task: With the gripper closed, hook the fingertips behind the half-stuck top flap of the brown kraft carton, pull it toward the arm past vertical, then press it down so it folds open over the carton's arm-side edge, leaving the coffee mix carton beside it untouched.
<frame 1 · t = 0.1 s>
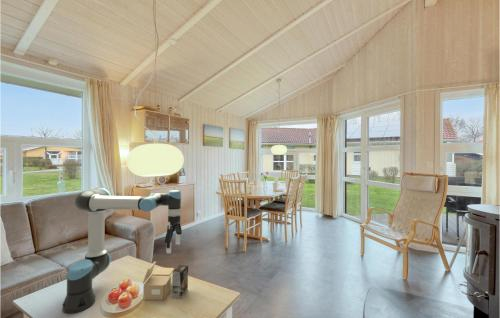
hand: (173, 248, 143), 28 cm above the table, fingers open, 13 cm apart
coffee box: (180, 294, 142), on the table
carton: (157, 294, 141), on the table
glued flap: (149, 271, 141), point 14 cm above the table, hinge at -20.0°
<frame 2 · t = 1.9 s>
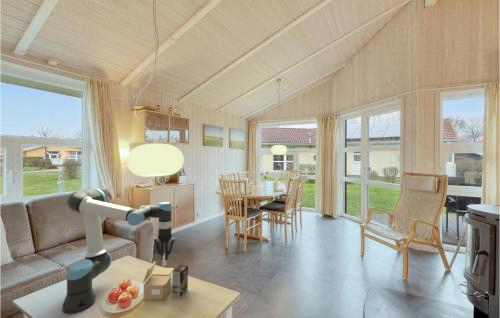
hand: (164, 265, 141), 18 cm above the table, fingers closed
nothing on the table moved.
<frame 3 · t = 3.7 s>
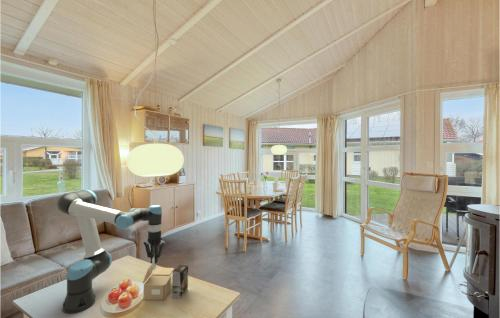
hand: (153, 268, 141), 16 cm above the table, fingers closed
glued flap: (149, 271, 141), point 14 cm above the table, hinge at -20.0°, touching gripper
everything else where it was.
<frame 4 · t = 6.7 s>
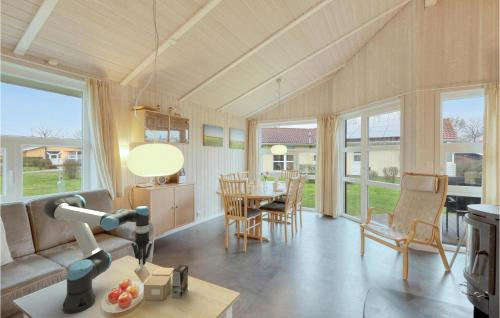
hand: (142, 269, 141), 15 cm above the table, fingers closed
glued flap: (142, 272, 141), point 14 cm above the table, hinge at 36.1°, touching gripper
everything else where it was.
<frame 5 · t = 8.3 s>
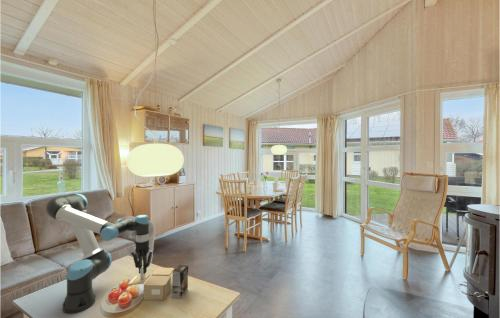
hand: (142, 278, 141), 10 cm above the table, fingers closed
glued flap: (139, 279, 141), point 9 cm above the table, hinge at 97.4°, touching gripper
everything else where it was.
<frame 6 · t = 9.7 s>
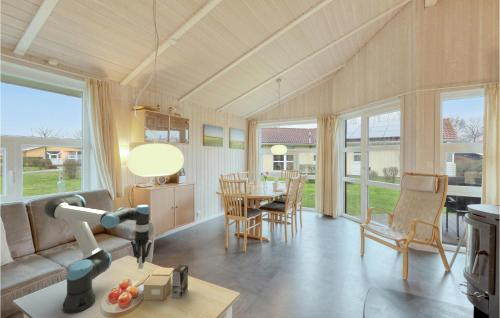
hand: (140, 268, 141), 16 cm above the table, fingers closed
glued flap: (139, 282, 141), point 7 cm above the table, hinge at 118.4°
everything else where it was.
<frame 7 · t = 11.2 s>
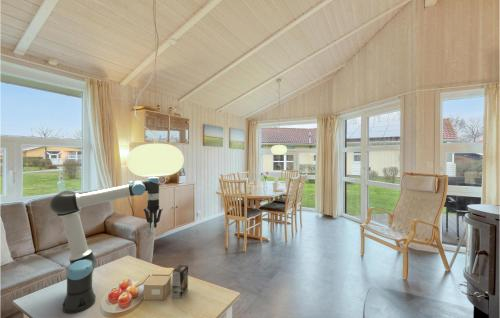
hand: (153, 232, 161), 32 cm above the table, fingers closed
nothing on the table moved.
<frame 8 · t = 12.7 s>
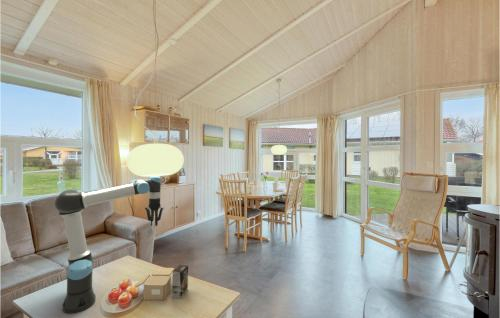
hand: (154, 230, 164), 32 cm above the table, fingers closed
nothing on the table moved.
at the end: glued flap at +118° (first picture: -20°) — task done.
